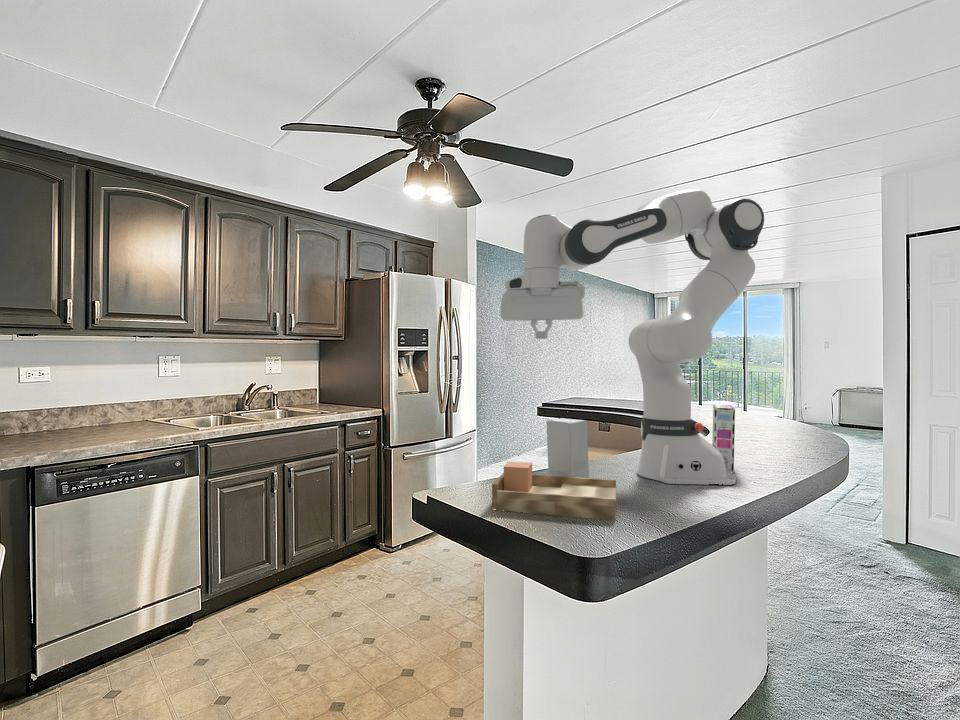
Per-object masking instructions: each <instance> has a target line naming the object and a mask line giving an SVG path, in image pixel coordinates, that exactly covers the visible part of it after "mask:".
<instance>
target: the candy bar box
mask: <svg viewBox="0 0 960 720" xmlns="http://www.w3.org/2000/svg"><path fill="white" fill-rule="evenodd" d="M735 413H736V408H735V407H734V406H732V405H728V404H712V442H711V445H713V446H714V447H715V448H716V449H717V450H719V451H720V453H721V454H722V456H723V458H724V462H725V468H726V470H727V471H729V472H733V473H732V474H734V473H735V472H734V471H735V434H736V433H735V432H736V431H735V427H736V426H735V424H736V421H735V420H736V414H735Z"/></svg>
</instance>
